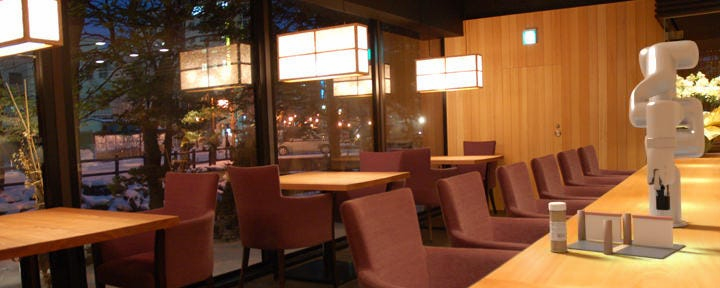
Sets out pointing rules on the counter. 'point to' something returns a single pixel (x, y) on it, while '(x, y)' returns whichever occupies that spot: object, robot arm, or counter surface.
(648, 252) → the card
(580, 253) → the counter surface
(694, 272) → the counter surface
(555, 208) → the sprinkles bottle
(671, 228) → the fence gate
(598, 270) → the counter surface
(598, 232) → the fence fixed
